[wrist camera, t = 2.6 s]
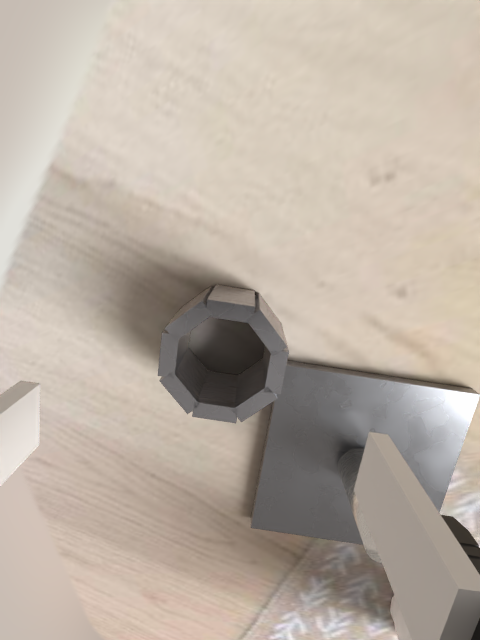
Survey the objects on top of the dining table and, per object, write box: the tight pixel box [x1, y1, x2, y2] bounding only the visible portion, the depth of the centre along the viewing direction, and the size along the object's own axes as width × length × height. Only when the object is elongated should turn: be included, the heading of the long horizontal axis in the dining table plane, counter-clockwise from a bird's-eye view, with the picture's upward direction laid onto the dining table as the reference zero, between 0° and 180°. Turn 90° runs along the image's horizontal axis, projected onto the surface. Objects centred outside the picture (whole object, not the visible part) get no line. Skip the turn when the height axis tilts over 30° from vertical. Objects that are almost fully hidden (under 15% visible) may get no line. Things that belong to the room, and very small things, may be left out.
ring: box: [158, 285, 289, 423], centre depth 25 cm, size 7×7×5 cm
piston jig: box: [251, 360, 480, 564], centre depth 25 cm, size 14×14×8 cm
